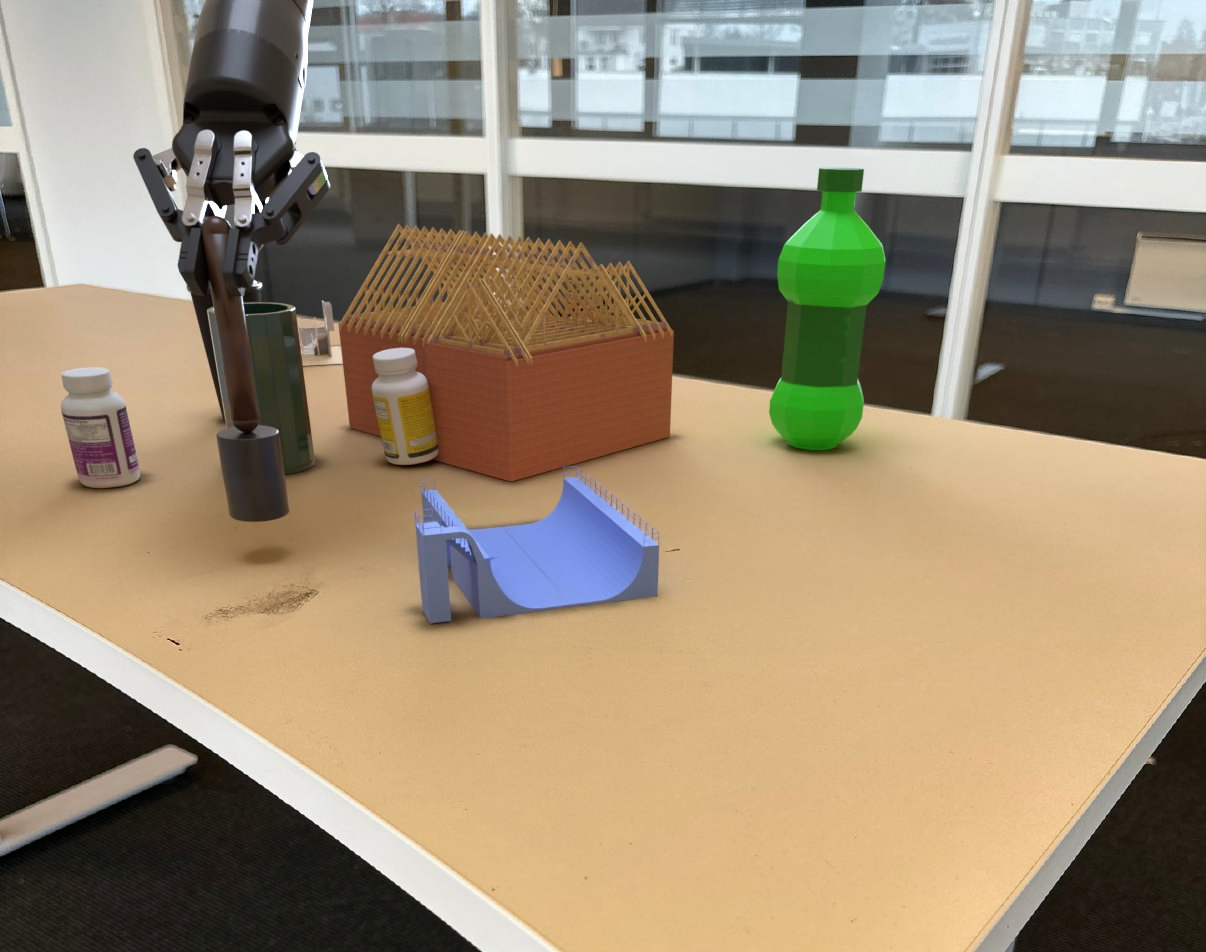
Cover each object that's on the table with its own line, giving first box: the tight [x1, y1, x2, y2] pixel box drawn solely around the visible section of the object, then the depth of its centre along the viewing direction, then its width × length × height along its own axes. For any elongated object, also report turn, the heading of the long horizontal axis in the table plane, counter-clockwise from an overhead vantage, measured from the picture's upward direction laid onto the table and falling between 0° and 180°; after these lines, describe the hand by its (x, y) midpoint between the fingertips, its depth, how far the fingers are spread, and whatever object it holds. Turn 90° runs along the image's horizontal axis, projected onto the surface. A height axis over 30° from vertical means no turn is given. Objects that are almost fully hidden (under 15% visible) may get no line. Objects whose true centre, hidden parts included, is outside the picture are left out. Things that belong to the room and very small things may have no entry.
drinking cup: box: [186, 279, 264, 422], centre depth 119 cm, size 8×8×20 cm
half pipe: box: [414, 465, 660, 625], centre depth 83 cm, size 18×16×7 cm
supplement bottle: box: [372, 348, 439, 466], centre depth 107 cm, size 5×5×10 cm
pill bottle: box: [60, 366, 141, 489], centre depth 100 cm, size 5×5×10 cm
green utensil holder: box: [207, 301, 315, 476], centre depth 104 cm, size 8×8×14 cm
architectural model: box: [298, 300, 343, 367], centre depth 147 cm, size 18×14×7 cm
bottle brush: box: [202, 216, 290, 523], centre depth 79 cm, size 4×4×20 cm
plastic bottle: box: [768, 167, 886, 451], centre depth 110 cm, size 10×10×25 cm
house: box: [338, 223, 675, 482], centre depth 114 cm, size 28×23×19 cm
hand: (214, 287), depth 74 cm, fingers closed on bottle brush, 2 cm apart
